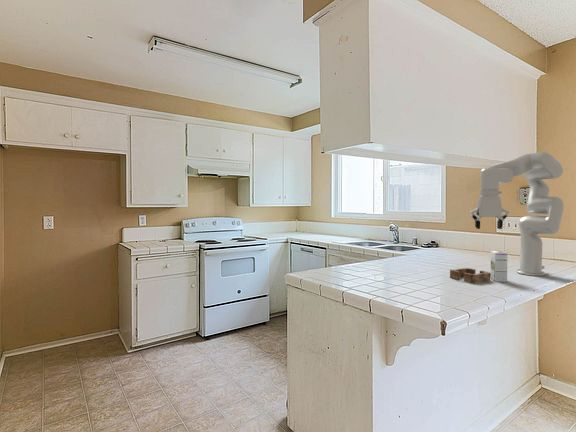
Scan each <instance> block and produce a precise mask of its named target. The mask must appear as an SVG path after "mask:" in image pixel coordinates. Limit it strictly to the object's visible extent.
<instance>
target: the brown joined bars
mask: <svg viewBox="0 0 576 432" xmlns="http://www.w3.org/2000/svg"><path fill="white" fill-rule="evenodd" d="M462 277H463V282H465V283H469V284H477V283H484V282H490V281H491V272H489V271H485V270H479V272H478V273H476V269H474V268H470V267H469V268H468V267H461V268H454V269H449V278H451V280H452V279H453V280H457V281H458V280H461V278H462Z"/></svg>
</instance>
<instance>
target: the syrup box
mask: <svg viewBox="0 0 576 432" xmlns="http://www.w3.org/2000/svg"><path fill="white" fill-rule="evenodd" d="M490 273H491V274H490V280H492V281H495V282H501V283H502V282H504V283H505V282H506V283H507V282H508V252H505V251H503V250H490Z"/></svg>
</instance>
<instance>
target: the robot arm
mask: <svg viewBox="0 0 576 432" xmlns="http://www.w3.org/2000/svg"><path fill="white" fill-rule="evenodd" d="M563 173H564V169H563V165H562V164H561V163H560V162H559V161H558V160H557V158H555V157H554V156H553V155H552V154H551V153H548V152H545V151H541V152H534V153H533V152H532V153H527V154H523V155H520V156H518V157H516V158H515V159H514V158H513V159H512V160H509V161H506V162H502V163H499V164H496V165H493V166H492V165H491V166H490V167H488V168H487V167H486V168H482V169H481V171H480V176H479V179H480V196H477V197H478V198H477V201H476V208H474V209H473V210H471V211H469V214H470V216H471V218H472V219H474V221H475V222H474V227H475V228H476V229H478V230H480V229H481V221H480V219H482V218H496V219H497V222H496V228H497V229H499V230H502V228H503V224H504V223H503V222H504V221H505V219H506V218H507V217H508V215H509V214H510V211H508V210H506V209H503V208H502V207H503V206H502V200H501V196H499V195H502V191H501V190H499V187H500V186H499V184H500V185H501V184H509V183H510V182H511V181H512V180H513V179H514V177H519V176H521V175H524V177H525V179H526V181H527V183H528V186H529V193H528V196H527V197H528V198H527V202H526V212H527V213H528V214H532V215H525V216H522V217H521V218H520V219H519V221H518V226H519V227H518V229H519V232H520V255H519V256H520V258H519V268H518V269H516V273H517V274H521V275H527V276H535V277H536V276H537V277H538V276H539V277H542V276H546V272H544V271H542V270H544V269H546V267H545V265H543V241H542V238H541V236H540V235H556V234H557V233H558V232H559V230H560V226H561V222H562V217H563V213H564V202H563V200H562V198H561V197H558V196H549V193H550V187H549V186H548V184H547V183H546V182H545V181H544V180H553V179H558V178H560V177H561V176H562V175H563ZM502 213H503V215H502ZM475 214H476V215H475Z"/></svg>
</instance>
